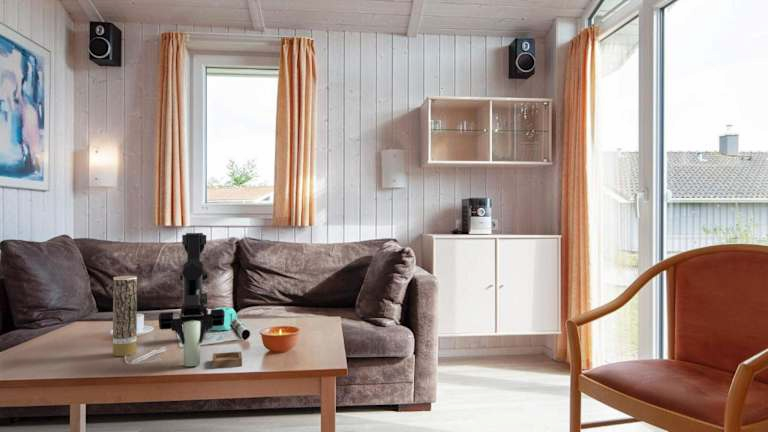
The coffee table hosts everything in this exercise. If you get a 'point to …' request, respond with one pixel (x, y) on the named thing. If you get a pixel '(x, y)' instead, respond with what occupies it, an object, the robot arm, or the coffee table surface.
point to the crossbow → (147, 357)
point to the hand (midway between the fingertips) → (191, 343)
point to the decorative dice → (226, 319)
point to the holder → (227, 359)
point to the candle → (191, 343)
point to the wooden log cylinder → (124, 315)
